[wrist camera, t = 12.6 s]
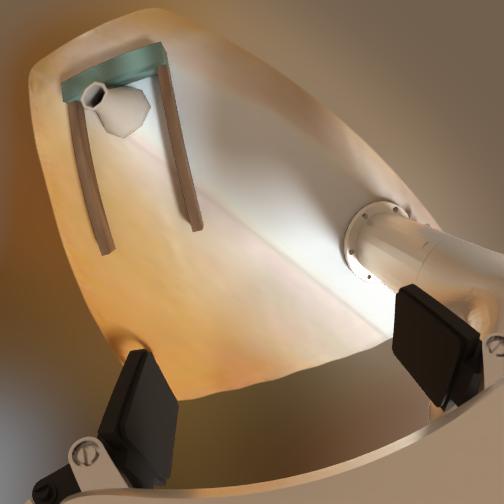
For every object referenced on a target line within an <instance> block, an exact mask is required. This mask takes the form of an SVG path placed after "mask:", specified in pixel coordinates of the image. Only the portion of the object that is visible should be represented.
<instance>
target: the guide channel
mask: <svg viewBox="0 0 504 504" xmlns="http://www.w3.org/2000/svg"><path fill="white" fill-rule="evenodd" d="M156 74H158V76H159V82H160V88H161V93H162V98H163V104H164V109H165V114H166V119H167V124H168V129H169V134H170V139H171V143H172V148H173V152H174V157H175V161H176V166H177V170H178V174H179V179H180V183H181V187H182V191H183V195H184V199H185V203H186V207H187V211H188V215H189V219H190V223H191V227H192V231H193V232H196V231H200V230H202V229H203V226H204V225H203V221H202V217H201V213H200V209H199V205H198V201H197V197H196V193H195V188H194V184H193V180H192V176H191V171H190V167H189V163H188V158H187V154H186V149H185V145H184V140H183V135H182V131H181V126H180V121H179V116H178V111H177V106H176V101H175V96H174V91H173V86H172V81H171V75H170V70H169V64H168V58H167V53H166V51H165V49H164V47H163V45H162V43H161V42H158V43H154V44H151V45H148V46H145V47H142V48H139V49H136V50H134V51H131V52H128V53H125V54H123V55H120V56H118V57H115V58H113V59H110V60H108V61H106V62H103V63H101V64H99V65H96V66H94V67H92V68H90V69H88V70H86V71H84V72H82V73H80V74H78V75H76V76H74V77H72V78H70V79H68V80H66V81H64V82H62V97H63V102H66V103H68V106H69V115H70V123H71V130H72V137H73V143H74V149H75V155H76V160H77V165H78V170H79V175H80V180H81V184H82V188H83V192H84V197H85V201H86V204H87V208H88V212H89V216H90V219H91V223H92V226H93V229H94V233H95V236H96V239H97V242H98V246H99V249H100V252H101V255H102V256H104V255H107V254H110V253H111V252H112V251H113V250H115V249H116V248H115V245H114V242H113V239H112V236H111V232H110V229H109V226H108V222H107V219H106V215H105V212H104V208H103V204H102V200H101V196H100V192H99V188H98V184H97V180H96V175H95V171H94V166H93V161H92V156H91V151H90V145H89V140H88V134H87V127H86V121H85V113H84V107H83V105H82V103H81V101H80V98H81V96H82V94H83V92H84V90H85V88H86V87H88V86H89V85H90V84H92V83H93V82H94V81H95V82H100V83H104V84H105V86H106V88H107V89H112V88H118V87H121V86H124V85H127V84H130V83H132V82H135V81H138V80H141V79H144V78H147V77H150V76H153V75H156Z"/></svg>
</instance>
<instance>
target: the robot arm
mask: <svg viewBox="0 0 504 504" xmlns="http://www.w3.org/2000/svg"><path fill="white" fill-rule="evenodd" d="M362 215H363V217H362ZM349 250H350V251H349ZM344 254H345V259H346V262H347V264H348V266H349V268H350V269H351V270H352V272H353V273H354V274H355V275H357V276H358V277H359V278H361V279H362V280H365V281H367V282H382V283H383V284H384V285H386V286H387V287H388V288H389V289H391V290H392V291H393V292H394V293H396V301H395V320H394V333H393V344H392V350H393V353H394V355H395V356H396V357H397V359H398V360H399V361H400V362H401V363H402V365H403V366H404V367H405V368H406V370H407V371H408V372H409V373H410V375H411V376H412V377H413V378H414V379H415V381H416V382H417V383H418V385H419V386H420V387H421V388H422V390H423V391H424V392H425V394H426V395H427V396H428V397H429V399H430V403H429V409H428V416H429V421H430V424H429V425H427V426H426V427H424V428H422V429H420V430H418V431H416V432H414V433H412V434H410V435H408V436H406V437H404V438H402V439H400V440H398V441H396V442H394V443H392V444H389V445H387V446H385V447H382V448H380V449H378V450H375V451H373V452H370V453H368V454H365V455H363V456H360V457H357V458H355V459H352V460H349V461H346V462H343V463H340V464H337V465H334V466H331V467H327V468H324V469H320V470H317V471H313V472H309V473H306V474H301V475H297V476H293V477H288V478H284V479H279V480H274V481H268V482H262V483H256V484H250V485H242V486H234V487H223V488H209V489H185V490H184V489H183V490H182V489H180V490H168V489H167V490H165V489H153V485H156V486H166V479H169V478H170V476H171V467H172V456H173V448H174V440H175V431H176V423H177V416H178V402H177V399H176V398H175V396H174V394H173V392H172V391H171V389H170V387H169V385H168V383H167V381H166V379H165V378H164V376H163V374H162V372H161V370H160V368H159V366H158V364H157V362H156V360H155V358H154V356H153V354H152V353H151V352H148V351H147V350H146V349H140V350H133V351H130V353H129V355H128V357H127V359H126V362H125V364H124V366H123V369H122V371H121V374H120V376H119V378H118V381H117V383H116V385H115V388H114V391H113V393H112V395H111V398H110V401H109V403H108V406H107V408H106V411H105V413H104V416H103V419H102V422H101V424H100V427H99V430H98V433H99V434H98V437H97V439H96V438H94V437H85V438H82V439H79V440H78V441H76V442H75V443H74V444H73V445H72V446H71V448H70V450H69V454H68V459H69V464H67V465H66V466H64V467H62V468H61V469H59V470H57V471H56V472H54V473H52V474H50V475H48V476H47V477H45V478H43V479H41V480H40V481H38V482H37V483H36V485H35V486H34V488H33V491H32V497H33V501H31V500H30V499H29V500H28V501H27V502H26V503H25V504H504V254H500V253H497V252H493V251H491V250H488V249H485V248H483V247H480V246H477V245H475V244H472V243H469V242H467V241H465V240H462V239H460V238H457V237H455V236H452V235H450V234H447V233H445V232H442V231H439V230H437V229H434V228H432V227H430V225H429V224H424V225H423V224H421V223H418V222H415V221H412V220H410V218H409V216H408V214H407V213H406V212H405V211H404V209H402V208H401V207H400V206H398V205H396V204H394V203H391V202H387V201H378V202H373V203H371V204H369V205H367V206H365V207H364V208H362V209H361V210H360V211H359V212H358V213H357V214H356V215H355V216H354V218H353V219H352V221H351V222H350V224H349V226H348V228H347V231H346V235H345V240H344Z"/></svg>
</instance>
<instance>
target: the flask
mask: <svg viewBox="0 0 504 504" xmlns="http://www.w3.org/2000/svg"><path fill="white" fill-rule="evenodd" d="M80 101H81V103H82V105H83V107H84V108H85V109H88V110H92V111H96V112H97V113H98V115H99V117H100V119H101V121H102V123H103V125H104V127H105V129H106V131H107V133H110V134H113V135H116V136H119V137H122V138H125V137H127V136H128V135H130V134H131V133H133V132H134V131H135V130H137V129H138V128H140V127H141V126H142V125H143V122H144V120H145V118H146V116H147V114H148V112H149V110H150V108H151V106H150V104H149V102H148V101H147V99H146V97H145V95H144V93H143V92H142V91H141V90H138V89H134V88H131V87H127V86H121V87H118V88H112V89H107V88H106V86H105V84H104V83H100V82H95V81H94V82H93V83H92V84H90V85H89V86H88V87H86V88H85V90H84V92H83V94H82V96H81V98H80Z"/></svg>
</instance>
